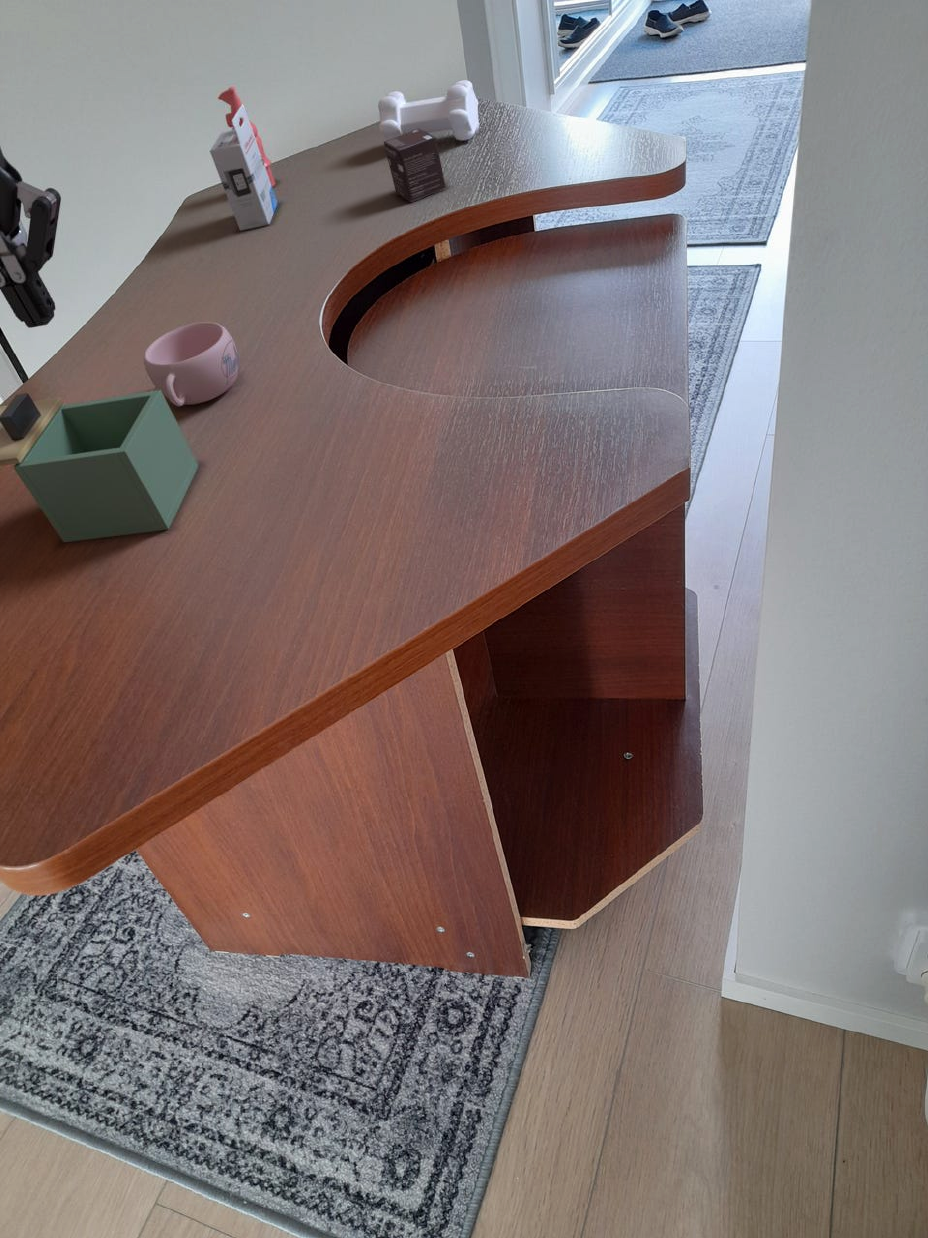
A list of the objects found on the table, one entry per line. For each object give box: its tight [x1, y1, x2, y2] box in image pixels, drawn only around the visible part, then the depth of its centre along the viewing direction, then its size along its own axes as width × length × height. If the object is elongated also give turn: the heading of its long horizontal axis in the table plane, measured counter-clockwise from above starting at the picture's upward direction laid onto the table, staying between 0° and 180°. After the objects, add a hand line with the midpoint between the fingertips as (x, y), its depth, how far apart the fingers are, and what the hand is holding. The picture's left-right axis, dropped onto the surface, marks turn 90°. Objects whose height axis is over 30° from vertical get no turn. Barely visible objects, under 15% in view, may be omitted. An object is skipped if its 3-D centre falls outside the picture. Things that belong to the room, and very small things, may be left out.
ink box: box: [209, 103, 278, 231], centre depth 134 cm, size 9×5×15 cm, turn 179°
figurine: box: [217, 86, 276, 188], centre depth 145 cm, size 5×5×15 cm
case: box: [13, 389, 199, 543], centre depth 85 cm, size 10×11×9 cm
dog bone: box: [377, 79, 480, 141], centre depth 145 cm, size 15×9×8 cm, turn 76°
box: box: [383, 129, 447, 203], centre depth 130 cm, size 6×6×7 cm
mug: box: [143, 321, 239, 407], centre depth 99 cm, size 12×10×6 cm
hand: (42, 321), depth 75 cm, fingers closed
